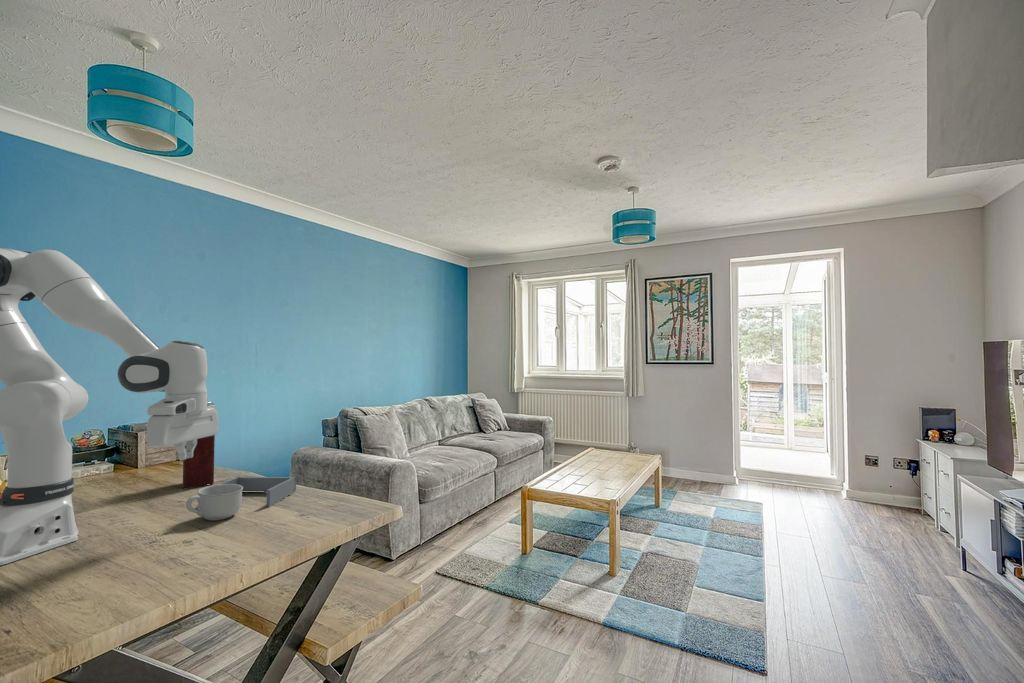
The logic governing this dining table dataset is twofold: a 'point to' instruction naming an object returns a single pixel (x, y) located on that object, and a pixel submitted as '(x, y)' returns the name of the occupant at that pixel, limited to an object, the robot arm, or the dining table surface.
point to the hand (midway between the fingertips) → (185, 458)
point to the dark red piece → (200, 464)
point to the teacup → (217, 501)
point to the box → (267, 486)
